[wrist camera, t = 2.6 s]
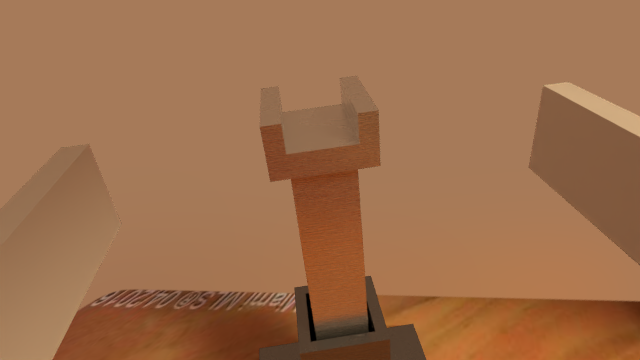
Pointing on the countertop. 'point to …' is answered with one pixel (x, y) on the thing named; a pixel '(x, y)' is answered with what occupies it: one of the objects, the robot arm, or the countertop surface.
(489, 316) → the countertop surface
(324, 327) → the column
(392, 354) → the stand
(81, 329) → the countertop surface
